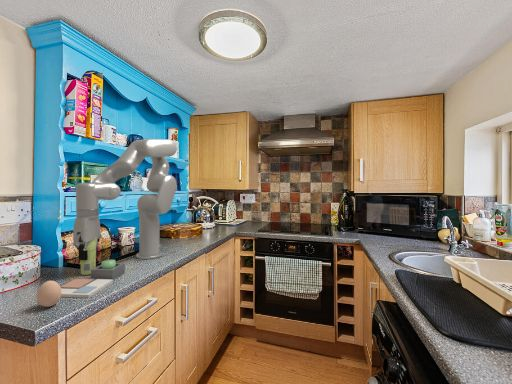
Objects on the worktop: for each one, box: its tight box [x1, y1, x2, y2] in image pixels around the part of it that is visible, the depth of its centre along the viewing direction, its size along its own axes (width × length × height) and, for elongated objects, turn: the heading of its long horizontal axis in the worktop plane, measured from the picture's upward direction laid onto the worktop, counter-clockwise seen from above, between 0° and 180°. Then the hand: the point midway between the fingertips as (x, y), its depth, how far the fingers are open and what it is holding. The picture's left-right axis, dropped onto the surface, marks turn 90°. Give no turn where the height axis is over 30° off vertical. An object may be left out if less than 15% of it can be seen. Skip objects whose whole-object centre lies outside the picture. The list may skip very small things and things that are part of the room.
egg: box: [36, 280, 62, 308], centre depth 75 cm, size 6×6×8 cm
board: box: [59, 277, 114, 299], centre depth 87 cm, size 13×14×1 cm
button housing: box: [90, 262, 126, 281], centre depth 99 cm, size 8×8×4 cm
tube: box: [79, 237, 97, 276], centre depth 102 cm, size 6×5×20 cm
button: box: [101, 259, 117, 269], centre depth 99 cm, size 5×5×4 cm
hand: (88, 257), depth 102 cm, fingers closed on tube, 5 cm apart
